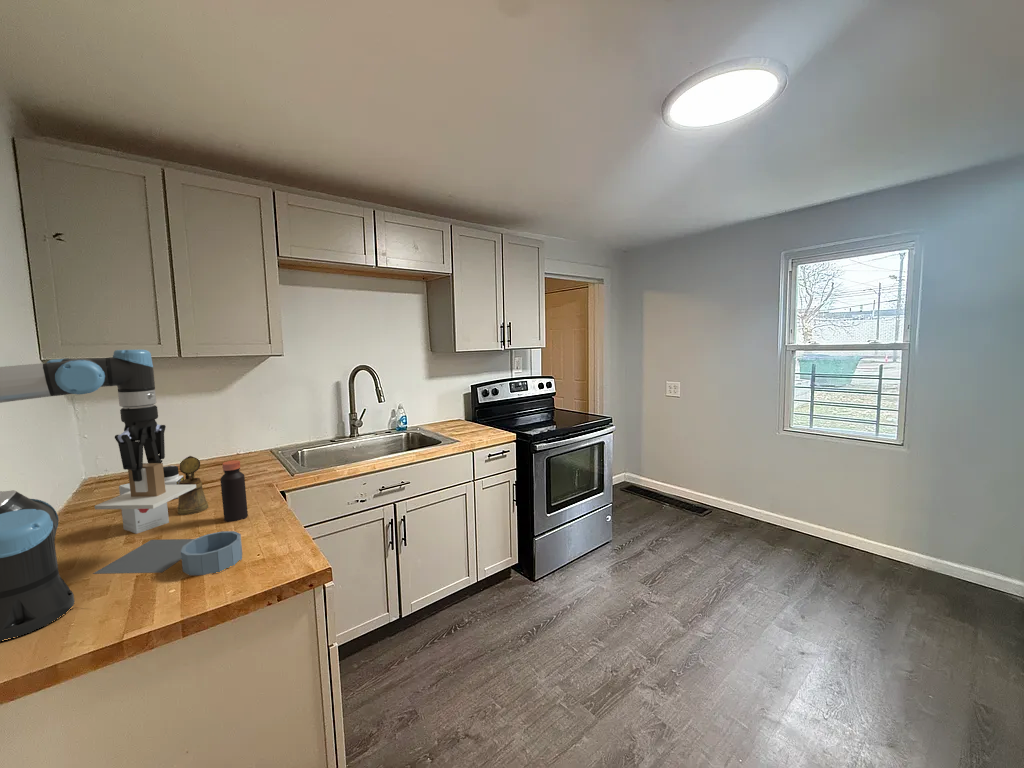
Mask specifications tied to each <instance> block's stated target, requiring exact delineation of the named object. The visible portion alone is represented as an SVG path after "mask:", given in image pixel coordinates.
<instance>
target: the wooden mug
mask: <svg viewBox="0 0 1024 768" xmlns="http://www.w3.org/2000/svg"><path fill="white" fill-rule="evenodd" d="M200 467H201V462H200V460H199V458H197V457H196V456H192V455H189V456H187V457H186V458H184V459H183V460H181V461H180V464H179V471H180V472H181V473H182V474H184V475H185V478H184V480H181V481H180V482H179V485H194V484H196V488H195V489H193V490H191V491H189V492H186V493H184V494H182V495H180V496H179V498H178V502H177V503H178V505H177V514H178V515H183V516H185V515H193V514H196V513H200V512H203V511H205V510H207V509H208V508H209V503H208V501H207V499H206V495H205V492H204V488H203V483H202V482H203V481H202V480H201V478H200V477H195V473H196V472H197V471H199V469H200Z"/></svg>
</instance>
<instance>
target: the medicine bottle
mask: <svg viewBox="0 0 1024 768" xmlns="http://www.w3.org/2000/svg"><path fill="white" fill-rule="evenodd" d="M163 471H164V480H165V485H179V482H180V481H181V480H185V478H184V475H180V474H179V467H178V466H177V465H166V466H163ZM175 499H179V496H178V497H176V498H174V499H173V500H175Z"/></svg>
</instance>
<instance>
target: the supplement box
mask: <svg viewBox="0 0 1024 768" xmlns="http://www.w3.org/2000/svg"><path fill="white" fill-rule="evenodd" d="M118 490H119V495H122V494H124V493H127V492H129V491H130V483H129V482H128V483H126V484H125V483H124V484H120V485H119V486H118ZM168 511H169V510H168V502H166V503H164V504H162V505H160V506H158V507H156V508H154V509H121V517H122V526H123V530H125V531H127V532H131V533H133V534H141V533H143V532H145V531H148V530H151V529H154V528H158V527H161V526H163V525H166V524H169V523H170V520H169V512H168Z"/></svg>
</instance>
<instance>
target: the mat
mask: <svg viewBox="0 0 1024 768" xmlns="http://www.w3.org/2000/svg"><path fill="white" fill-rule="evenodd" d="M194 539H195V538H180V539H178V538H175V539H172V538H171V539H170V538H169V539H167V538H166V539H150V540H149V541H147V542H145V543H142V545H139V546H138V547H136V548H135V549H133V550H131V551H129V552H127V553H126V554H124V555H122V556H121V557H119V558H116V560H114V561H112V562H111V563H108V564H107V565H105V566H103V567H101V568H100V569H99V570H96V571H95V572H93V573H92V574H94V575H97V574H98V575H99V574H102V575H103V574H107V575H108V574H110V575H111V574H154V573H155V574H156V573H158V574H161V573H164V572H166V570H168V569H169V568H171V567H172V566H174V565H175V564H176V563H178V562H179V561H182V559H181V550H182V547H183V546H184V545H186V544H187V543H189V542H190V541H192V540H194Z"/></svg>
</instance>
